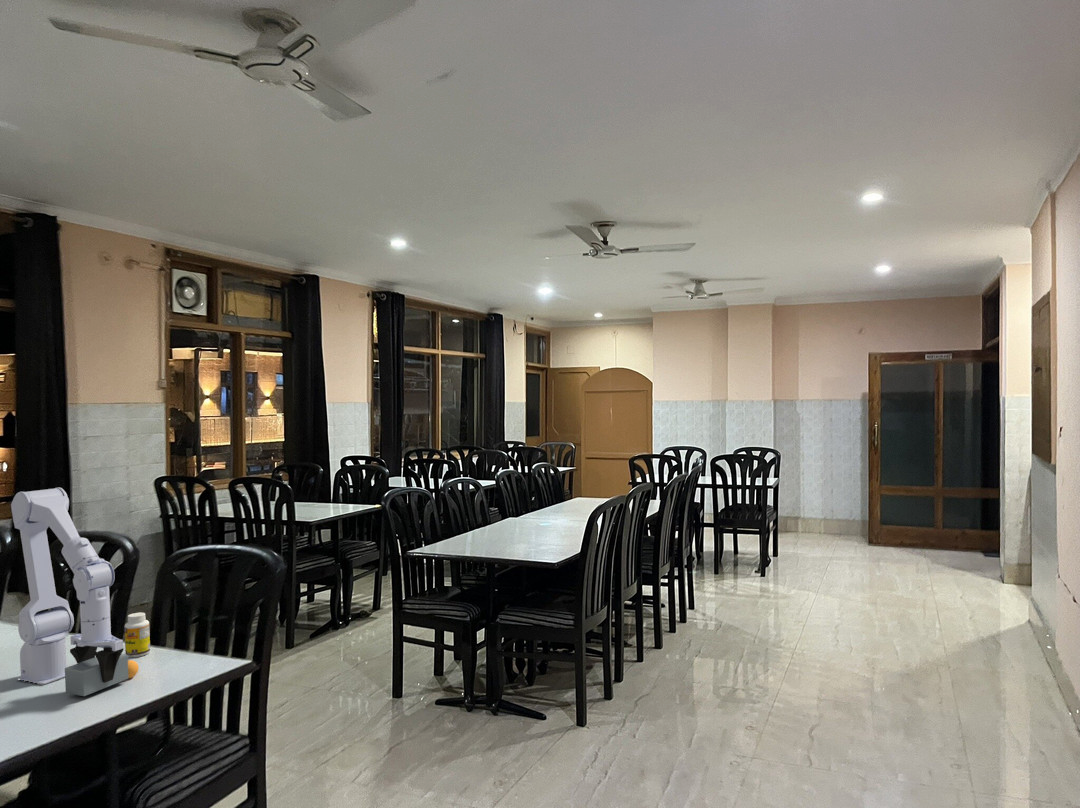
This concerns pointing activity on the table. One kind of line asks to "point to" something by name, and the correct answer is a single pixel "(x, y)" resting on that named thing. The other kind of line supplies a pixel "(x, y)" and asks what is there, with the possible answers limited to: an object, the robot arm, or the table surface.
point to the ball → (132, 668)
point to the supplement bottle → (137, 635)
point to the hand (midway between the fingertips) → (97, 679)
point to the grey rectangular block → (92, 676)
